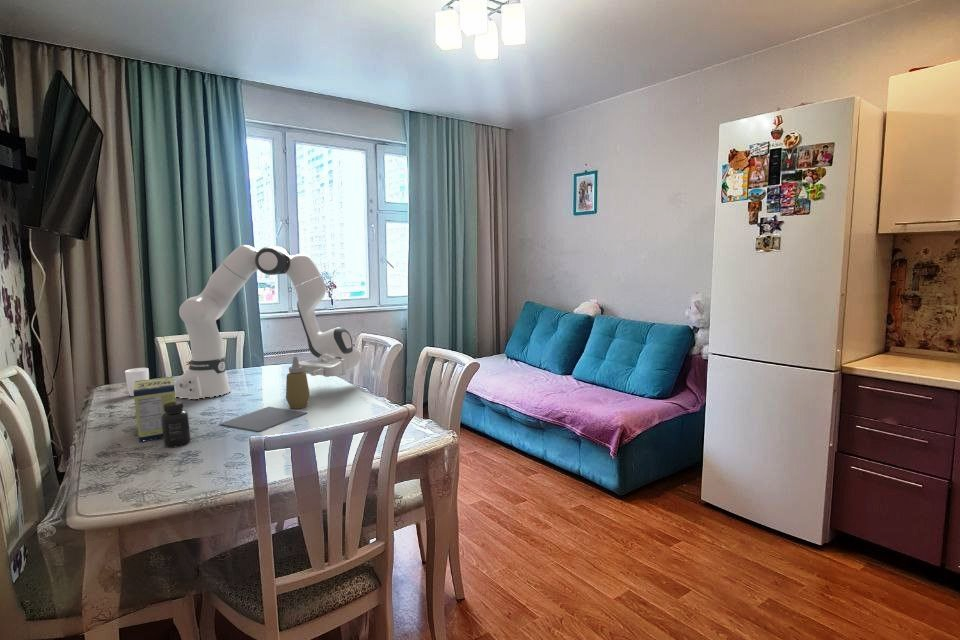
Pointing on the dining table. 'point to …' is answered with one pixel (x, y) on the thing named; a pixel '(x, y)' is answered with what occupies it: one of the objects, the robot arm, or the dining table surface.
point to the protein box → (152, 405)
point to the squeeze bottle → (297, 386)
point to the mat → (263, 419)
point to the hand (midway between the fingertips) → (302, 372)
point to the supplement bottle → (175, 425)
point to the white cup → (135, 377)
